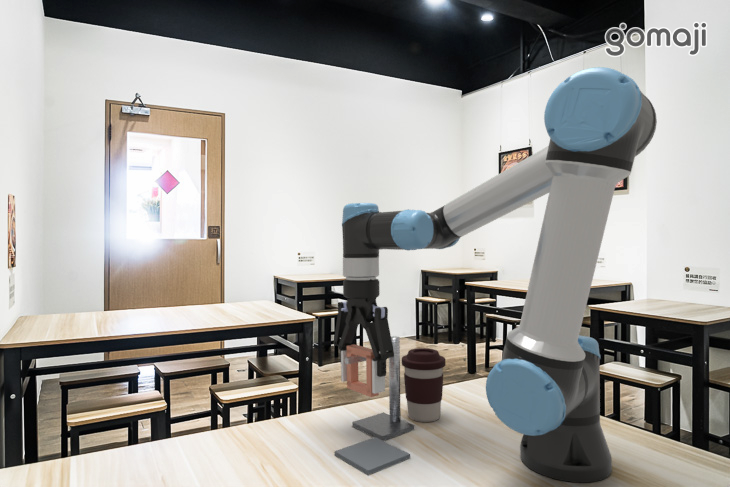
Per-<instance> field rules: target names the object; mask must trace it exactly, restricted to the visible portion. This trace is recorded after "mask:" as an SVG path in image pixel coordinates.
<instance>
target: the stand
mask: <svg viewBox="0 0 730 487" xmlns="http://www.w3.org/2000/svg"><path fill="white" fill-rule="evenodd" d="M400 339H401V338H400V336H396V335H395V336H394V335H393V336H392V335H391V340H392V345H393V351H394V357H391V358H388V384H389V385H388V386H389V388H388V393H389V394H388V396H389V397H388V398H389V400H388V401H389V403H388V404H389V409H388V410H389V414H388V413H386V412H380V413H376V414H374V415H370V416H368V417H363V418H361V419H358V420H355V421H352V422H351V427H352V428H355V429H356V430H358V431H361V432H362V433H364V434H367V435H369V436H370V437H372V438H374V437H376V438H378V439H380V440H383V441H385V442H386V440H387V441H388V440H390V439H393V438H395V437H399V436H401V435H404V434H407V433H410V432H412V431H415V424H413V423H410V422H407V421H406V420H403V419H401V353H400V352H401V351H400V349H401V343H400V342H401V340H400ZM387 352H388V351H387ZM379 354H380V352H379ZM361 362H362V363H363V362H366V358H365V357H361V356H358V355H355V356H350V357H345V364H353V363H358V364H359V363H361Z"/></svg>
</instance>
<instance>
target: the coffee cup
mask: <svg viewBox="0 0 730 487" xmlns="http://www.w3.org/2000/svg"><path fill="white" fill-rule="evenodd" d="M446 363H447V362H446V358H445V357H444V356H442V355H441V354H440V351H438V350H437V349H433V348H427V347H417V348H411V349H409V350H408V352H407V353H406V354H405V355H403V356H402V357H401V365H402V367H404V368H403V369H404V373H403V379H404V389H405V390H404V392H405V399H406V403H407V404H406V407H407V415H408V417H409V419H410V420H413V421H416V422H419V423H429V422H434V421H437V420H438V419H440V417H441V410H442V409H441V408H442V407H441V406H442V405H441V403H442V399H443V390H444V389H443V388H444V373H443V371H444V368H445V367H446Z"/></svg>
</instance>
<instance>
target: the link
mask: <svg viewBox="0 0 730 487" xmlns="http://www.w3.org/2000/svg"><path fill="white" fill-rule="evenodd" d="M355 355H358V356H361V357H365V358H366V361H365V363H366V364H365V365H366V366H365V367H366V368H365V369H366V372H365V374H366V377H365V378H366V380H365V381H366V383H365V382H363V381H359V362H358V363H353V364H347V381H346V388H347V389H348V390H352V391H354V392H357V393H359V394H361V395H365V396H367V397H369V398H374V397H377V396H379V395H380V394H379V393H380V392H379V393H376V394H374V393H372V359H373V358H375V357H374V354H373V351H372V348H371V347H370V348H369V347H366V346H362V345H358V344H353V343H352V344H351V345H348V346H347V357H350V356H355Z"/></svg>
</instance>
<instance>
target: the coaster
mask: <svg viewBox="0 0 730 487" xmlns="http://www.w3.org/2000/svg"><path fill="white" fill-rule="evenodd" d="M334 457H337V458H339V459H340V460H342V461H344V462H345V463H347V464H348V465H351V466H352V467H353V468H356V469H357V470H358V471H361V472H363V474H365V475H367V476H370V475H373V474H375V473H378V472H379V471H382V470H384V469H387V468H390V467H392V466H395V465H397V464H399V463H402V462H405V461H406V460H409V459H411V453H410V452H407V451H406V450H404V449H401V448H399V447H397V446H395V445H393V444H391V443H389V442H386V440H385V441H383V440H380V439H378V438H376V437H372V438H368V439H366V440H365V439H364V440H363V441H361V442H357V443H354V444H351V445H348V446H346V447H342V448H340V449H337V450H334Z"/></svg>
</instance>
